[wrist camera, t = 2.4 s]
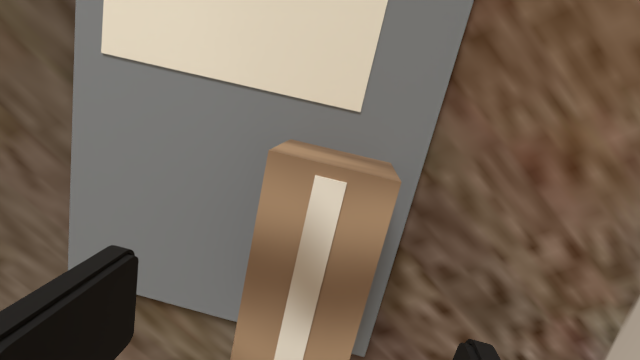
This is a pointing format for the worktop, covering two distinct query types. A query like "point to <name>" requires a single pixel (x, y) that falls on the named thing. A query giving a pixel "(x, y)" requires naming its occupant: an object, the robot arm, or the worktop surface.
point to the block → (313, 253)
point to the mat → (240, 124)
